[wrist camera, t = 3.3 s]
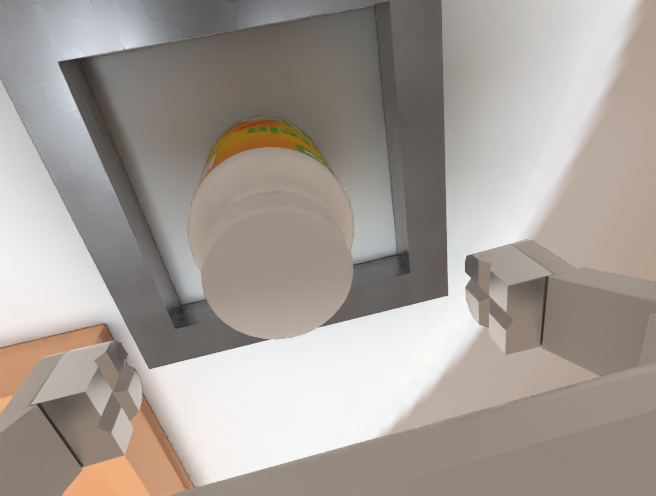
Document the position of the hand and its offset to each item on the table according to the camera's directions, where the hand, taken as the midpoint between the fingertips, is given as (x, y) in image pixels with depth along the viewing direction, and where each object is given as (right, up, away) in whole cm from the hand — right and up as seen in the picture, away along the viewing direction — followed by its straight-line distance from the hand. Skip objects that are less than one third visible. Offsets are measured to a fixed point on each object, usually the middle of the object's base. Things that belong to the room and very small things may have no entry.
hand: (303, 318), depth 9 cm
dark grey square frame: (-2, +5, +9) cm, 11 cm away
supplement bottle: (-2, +5, +10) cm, 11 cm away
